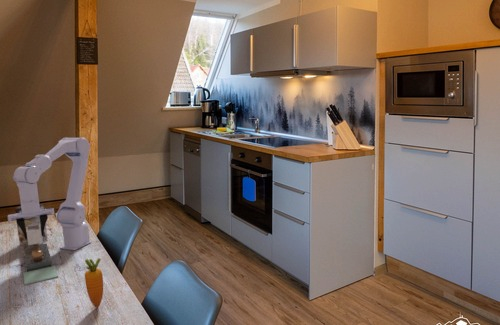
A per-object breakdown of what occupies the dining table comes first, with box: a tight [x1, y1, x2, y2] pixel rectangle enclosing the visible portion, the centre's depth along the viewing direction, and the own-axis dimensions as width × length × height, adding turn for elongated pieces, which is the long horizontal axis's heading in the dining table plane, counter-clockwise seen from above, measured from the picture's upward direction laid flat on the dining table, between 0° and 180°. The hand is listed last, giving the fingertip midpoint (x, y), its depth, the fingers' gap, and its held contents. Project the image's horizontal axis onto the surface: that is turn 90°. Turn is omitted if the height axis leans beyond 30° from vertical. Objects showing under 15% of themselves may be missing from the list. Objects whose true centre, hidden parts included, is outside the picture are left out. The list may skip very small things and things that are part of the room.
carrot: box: [84, 257, 104, 309], centre depth 116 cm, size 5×5×15 cm
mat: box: [22, 265, 59, 286], centre depth 140 cm, size 10×10×1 cm
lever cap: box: [26, 223, 44, 246], centre depth 148 cm, size 6×4×6 cm
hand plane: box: [23, 242, 53, 272], centre depth 154 cm, size 20×8×6 cm, turn 30°
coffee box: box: [14, 203, 49, 247], centre depth 171 cm, size 9×6×16 cm
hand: (34, 236), depth 148 cm, fingers closed on lever cap, 4 cm apart
